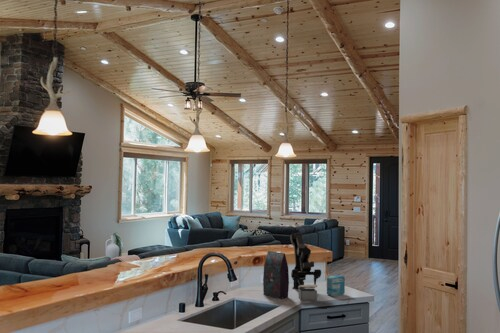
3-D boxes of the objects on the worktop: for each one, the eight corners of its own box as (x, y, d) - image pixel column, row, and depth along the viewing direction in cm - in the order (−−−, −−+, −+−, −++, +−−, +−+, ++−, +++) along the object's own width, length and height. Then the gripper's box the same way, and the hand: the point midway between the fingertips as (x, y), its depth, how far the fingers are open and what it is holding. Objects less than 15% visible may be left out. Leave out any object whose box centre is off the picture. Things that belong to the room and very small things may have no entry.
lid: (298, 287, 284) (298, 286, 284) (314, 287, 284) (314, 286, 285) (300, 286, 276) (300, 284, 276) (317, 286, 277) (317, 284, 277)
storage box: (298, 297, 283) (298, 288, 284) (314, 297, 284) (314, 288, 284) (300, 301, 275) (301, 291, 276) (316, 301, 276) (316, 291, 276)
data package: (331, 296, 289) (331, 277, 289) (326, 295, 292) (326, 276, 293) (344, 294, 295) (344, 276, 296) (339, 293, 299) (339, 274, 300)
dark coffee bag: (271, 292, 297) (272, 250, 298) (289, 297, 284) (289, 253, 286) (262, 294, 291) (263, 251, 293) (280, 299, 279) (280, 254, 280)
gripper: (292, 256, 284) (294, 278, 273) (321, 256, 286) (324, 278, 275) (289, 266, 292) (292, 287, 281) (318, 266, 294) (321, 287, 282)
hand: (307, 285), depth 280 cm, fingers open, 9 cm apart
